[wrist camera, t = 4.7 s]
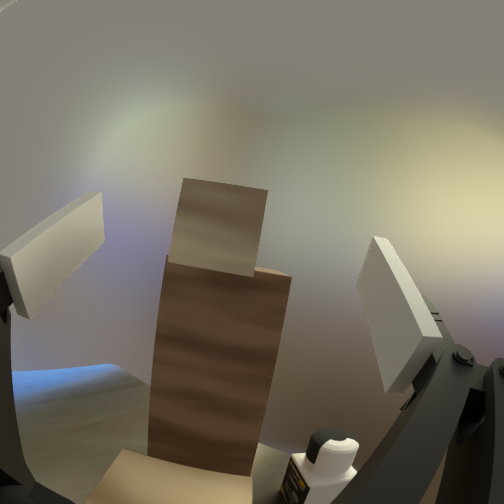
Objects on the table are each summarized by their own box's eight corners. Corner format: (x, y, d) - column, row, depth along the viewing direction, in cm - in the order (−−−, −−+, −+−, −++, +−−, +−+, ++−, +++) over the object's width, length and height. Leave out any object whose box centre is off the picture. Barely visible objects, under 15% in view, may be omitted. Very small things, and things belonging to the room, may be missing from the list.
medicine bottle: (279, 488, 33) (299, 423, 33) (324, 484, 34) (348, 420, 34) (294, 521, 26) (321, 454, 26) (344, 512, 27) (376, 447, 27)
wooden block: (253, 277, 14) (267, 190, 14) (167, 261, 14) (183, 177, 14) (253, 266, 40) (258, 236, 40) (223, 261, 40) (228, 230, 40)
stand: (234, 532, 23) (291, 276, 24) (147, 514, 23) (166, 255, 24) (240, 453, 41) (275, 270, 42) (178, 441, 41) (203, 257, 42)
